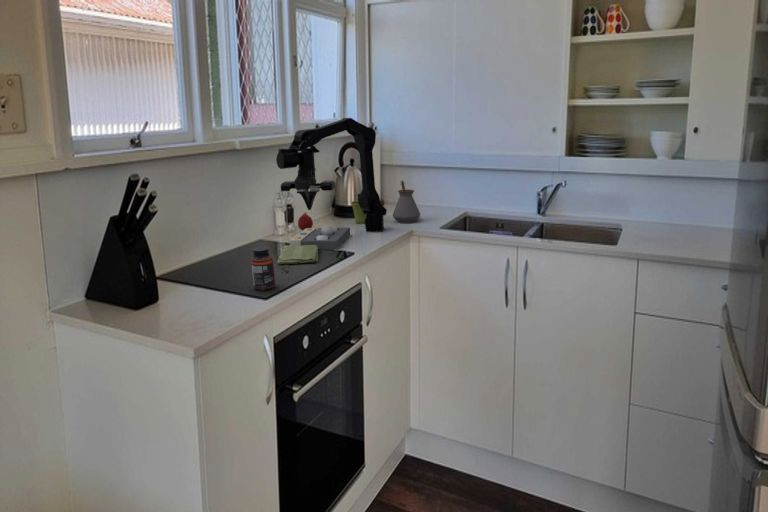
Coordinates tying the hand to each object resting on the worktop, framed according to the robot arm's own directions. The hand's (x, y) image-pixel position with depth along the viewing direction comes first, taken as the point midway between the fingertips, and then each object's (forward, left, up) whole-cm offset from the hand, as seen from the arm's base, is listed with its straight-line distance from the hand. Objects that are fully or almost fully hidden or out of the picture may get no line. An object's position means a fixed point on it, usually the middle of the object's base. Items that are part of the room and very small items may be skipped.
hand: (309, 209), depth 216 cm
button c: (-6, +7, -12) cm, 15 cm away
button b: (-6, 0, -10) cm, 11 cm away
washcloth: (-2, +22, -13) cm, 25 cm away
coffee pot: (-29, -42, -12) cm, 53 cm away
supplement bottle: (-2, +54, -12) cm, 55 cm away
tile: (+3, 0, -12) cm, 12 cm away
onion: (+7, -16, -12) cm, 21 cm away
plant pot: (-12, -35, -12) cm, 39 cm away
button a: (-6, -7, -12) cm, 15 cm away
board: (-6, 0, -12) cm, 13 cm away
